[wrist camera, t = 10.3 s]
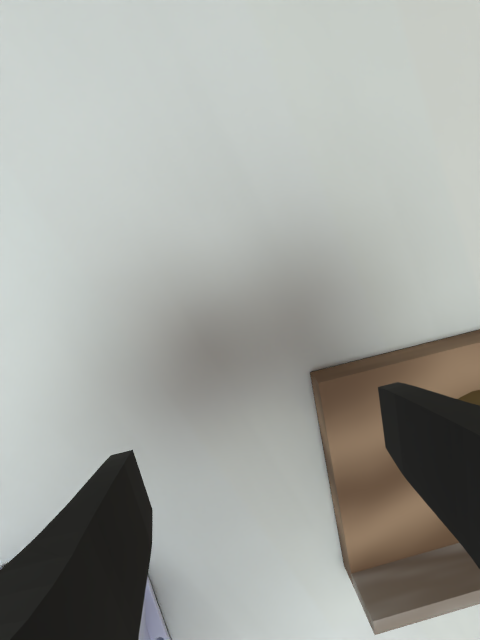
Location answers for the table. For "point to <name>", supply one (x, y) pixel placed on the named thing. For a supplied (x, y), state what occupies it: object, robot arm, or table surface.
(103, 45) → the table surface
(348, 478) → the tan wooden plank
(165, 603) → the table surface
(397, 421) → the robot arm
